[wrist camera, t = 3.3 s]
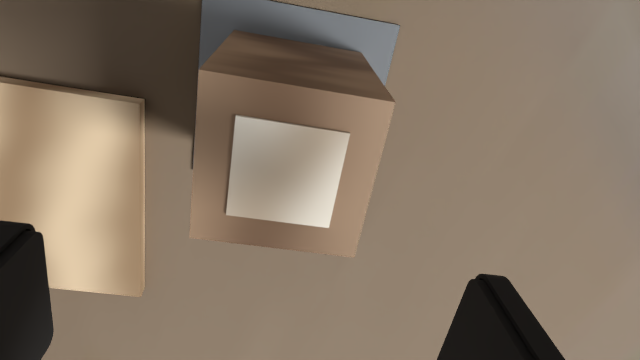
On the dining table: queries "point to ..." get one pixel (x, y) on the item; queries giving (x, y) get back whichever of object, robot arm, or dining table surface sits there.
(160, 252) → the dining table surface
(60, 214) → the cork pad
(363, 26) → the tile
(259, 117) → the walnut block
